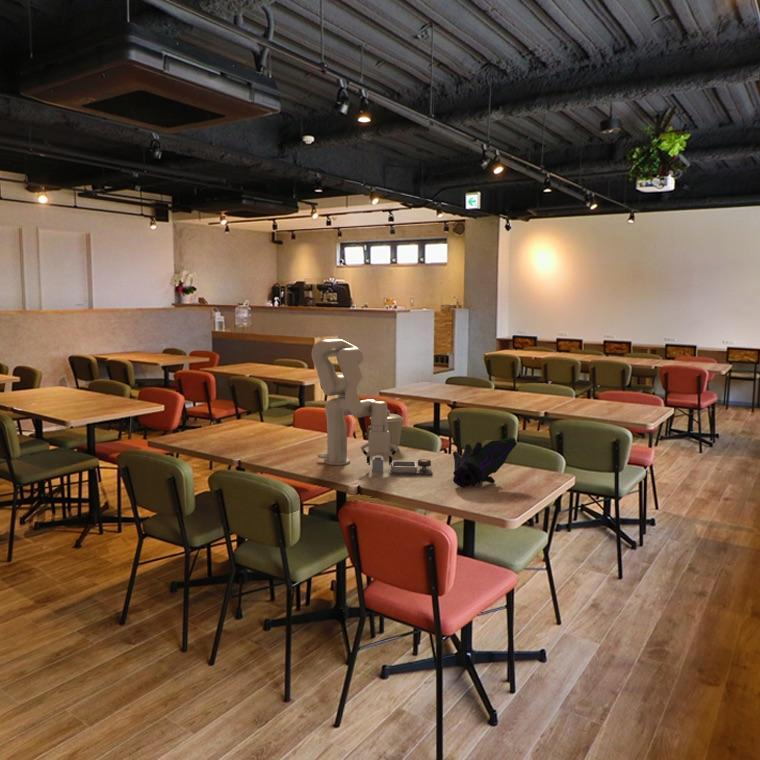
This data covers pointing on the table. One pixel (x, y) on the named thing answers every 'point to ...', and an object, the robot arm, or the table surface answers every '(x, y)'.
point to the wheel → (424, 462)
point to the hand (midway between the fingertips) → (379, 464)
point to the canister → (394, 428)
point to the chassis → (409, 468)
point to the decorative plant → (481, 461)
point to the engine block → (377, 464)
